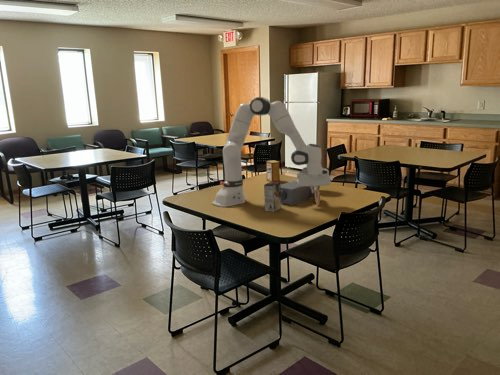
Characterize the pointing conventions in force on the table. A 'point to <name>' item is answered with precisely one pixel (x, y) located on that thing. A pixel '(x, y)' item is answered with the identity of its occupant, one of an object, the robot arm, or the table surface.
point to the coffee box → (272, 196)
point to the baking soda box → (273, 171)
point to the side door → (316, 196)
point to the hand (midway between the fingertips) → (313, 192)
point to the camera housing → (295, 193)
